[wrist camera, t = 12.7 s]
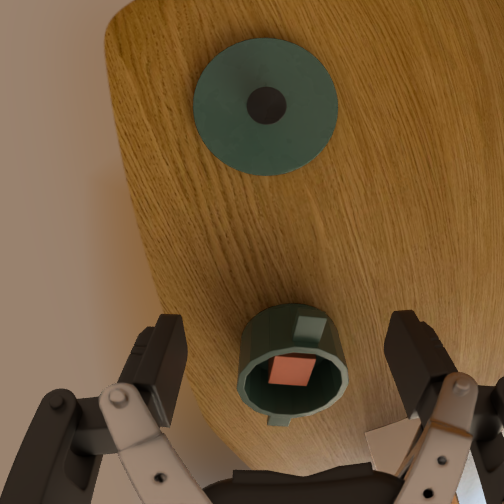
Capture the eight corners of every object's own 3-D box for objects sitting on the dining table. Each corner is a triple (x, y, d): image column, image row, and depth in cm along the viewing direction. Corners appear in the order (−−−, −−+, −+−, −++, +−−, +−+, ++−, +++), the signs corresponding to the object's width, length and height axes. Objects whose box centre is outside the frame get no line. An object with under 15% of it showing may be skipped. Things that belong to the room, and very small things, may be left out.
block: (267, 356, 34) (268, 383, 31) (273, 329, 33) (274, 355, 29) (303, 359, 35) (306, 386, 31) (311, 332, 33) (316, 359, 29)
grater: (426, 438, 44) (454, 529, 26) (371, 457, 46) (389, 552, 28) (427, 410, 40) (463, 516, 22) (364, 432, 42) (386, 545, 24)
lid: (189, 164, 26) (167, 183, 20) (204, 34, 21) (186, 14, 15) (322, 182, 27) (339, 206, 21) (343, 54, 22) (369, 40, 16)
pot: (234, 384, 37) (230, 427, 32) (251, 273, 31) (248, 315, 25) (317, 391, 38) (323, 432, 32) (356, 286, 31) (374, 327, 25)
